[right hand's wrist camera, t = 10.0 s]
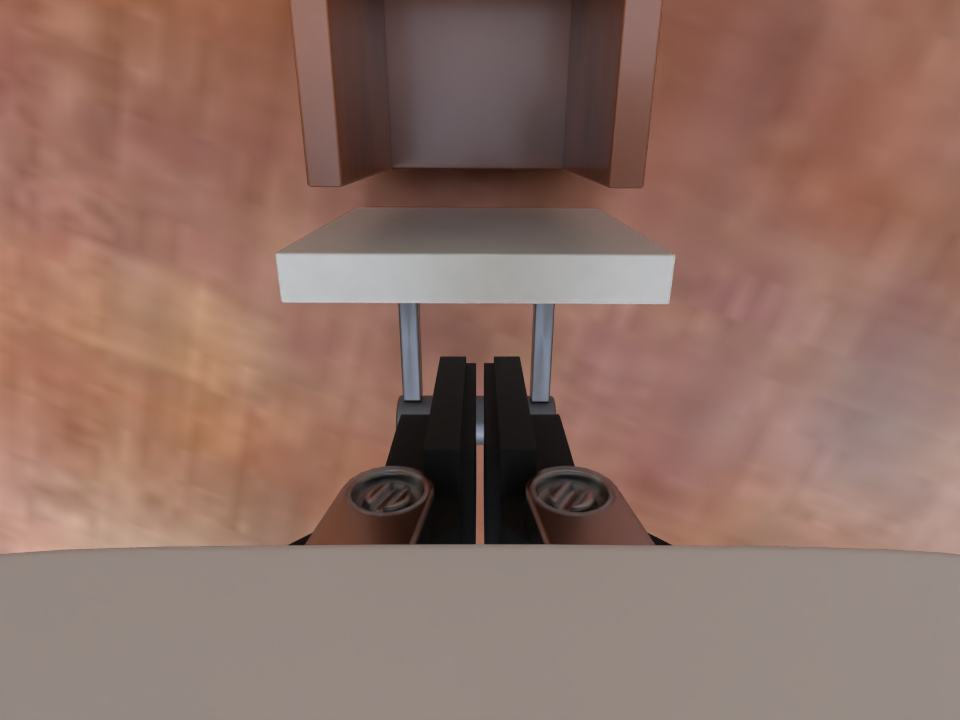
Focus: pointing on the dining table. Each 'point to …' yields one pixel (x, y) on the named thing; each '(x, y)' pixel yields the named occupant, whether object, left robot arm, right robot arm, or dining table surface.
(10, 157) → the dining table surface
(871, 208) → the dining table surface
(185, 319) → the dining table surface
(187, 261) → the dining table surface
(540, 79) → the drawer
